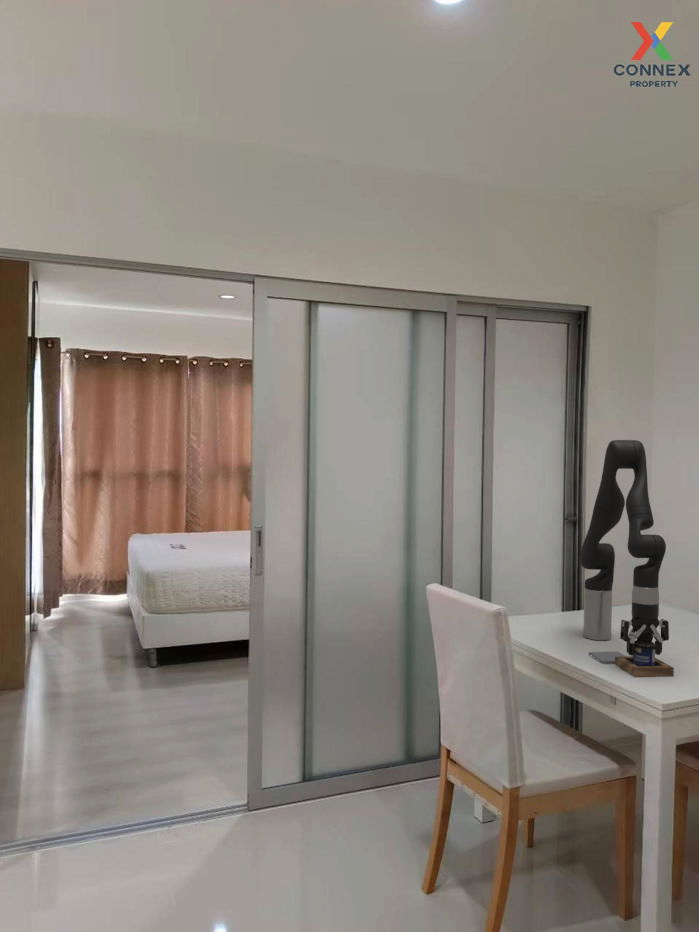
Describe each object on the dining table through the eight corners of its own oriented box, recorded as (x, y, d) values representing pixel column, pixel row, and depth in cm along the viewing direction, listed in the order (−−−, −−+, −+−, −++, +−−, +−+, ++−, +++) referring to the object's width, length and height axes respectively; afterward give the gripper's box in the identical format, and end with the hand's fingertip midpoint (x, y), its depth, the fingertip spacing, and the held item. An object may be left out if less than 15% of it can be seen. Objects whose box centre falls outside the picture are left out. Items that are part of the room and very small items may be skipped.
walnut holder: (615, 664, 221) (615, 656, 221) (651, 663, 223) (652, 655, 223) (634, 677, 209) (635, 668, 209) (673, 676, 211) (673, 667, 211)
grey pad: (588, 654, 232) (588, 652, 232) (617, 653, 233) (617, 651, 233) (602, 663, 222) (602, 661, 222) (633, 663, 223) (633, 660, 223)
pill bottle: (630, 671, 215) (631, 634, 215) (635, 666, 220) (635, 630, 220) (652, 674, 212) (653, 637, 212) (656, 669, 217) (657, 633, 217)
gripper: (660, 598, 220) (659, 650, 220) (616, 598, 218) (615, 651, 219) (674, 603, 213) (673, 657, 213) (629, 603, 211) (627, 658, 211)
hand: (644, 654), depth 216 cm, fingers open, 8 cm apart
